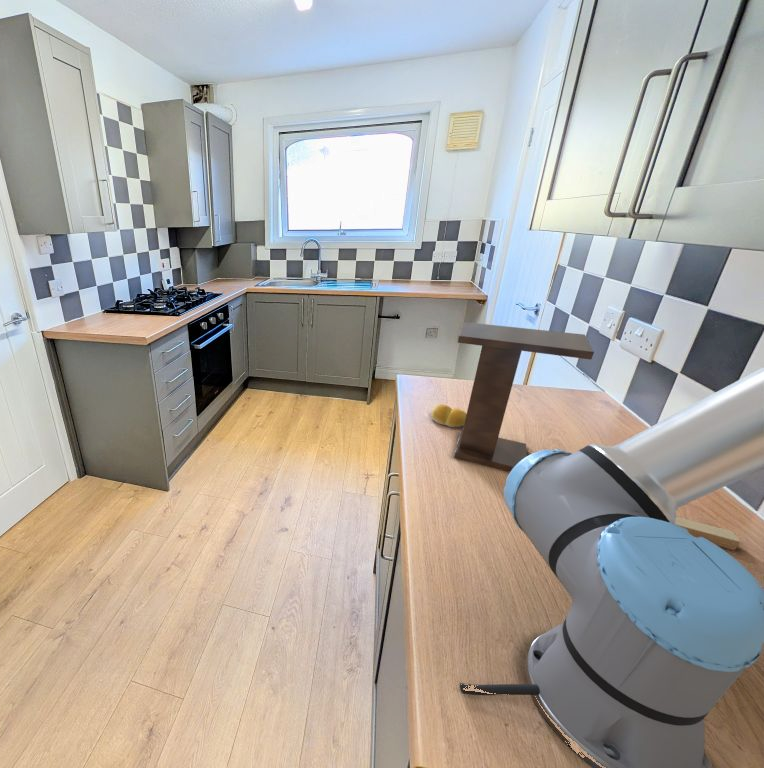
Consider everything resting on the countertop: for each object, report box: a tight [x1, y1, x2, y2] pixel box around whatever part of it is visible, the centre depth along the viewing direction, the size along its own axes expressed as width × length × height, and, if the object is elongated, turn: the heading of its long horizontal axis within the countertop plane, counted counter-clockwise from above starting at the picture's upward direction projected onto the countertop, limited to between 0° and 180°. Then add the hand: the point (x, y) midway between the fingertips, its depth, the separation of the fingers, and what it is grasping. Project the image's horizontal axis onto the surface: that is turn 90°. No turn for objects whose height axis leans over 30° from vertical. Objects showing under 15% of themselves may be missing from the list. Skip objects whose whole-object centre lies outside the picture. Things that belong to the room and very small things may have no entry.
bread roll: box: [429, 403, 467, 429], centre depth 105 cm, size 8×9×4 cm
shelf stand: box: [453, 321, 595, 473], centre depth 86 cm, size 22×12×29 cm, turn 59°
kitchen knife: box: [675, 516, 741, 551], centre depth 73 cm, size 30×3×2 cm, turn 58°
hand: (760, 474), depth 61 cm, fingers open, 13 cm apart
